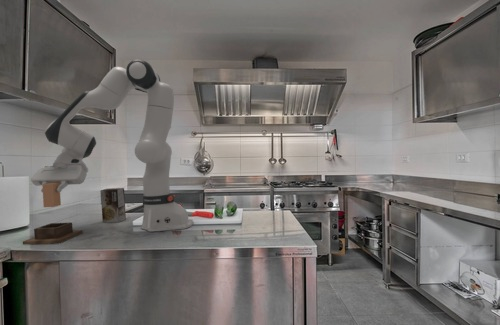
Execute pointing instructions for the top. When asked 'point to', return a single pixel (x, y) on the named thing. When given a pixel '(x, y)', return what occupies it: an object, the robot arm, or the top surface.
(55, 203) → the block
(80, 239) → the top surface
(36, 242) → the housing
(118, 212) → the coffee box
